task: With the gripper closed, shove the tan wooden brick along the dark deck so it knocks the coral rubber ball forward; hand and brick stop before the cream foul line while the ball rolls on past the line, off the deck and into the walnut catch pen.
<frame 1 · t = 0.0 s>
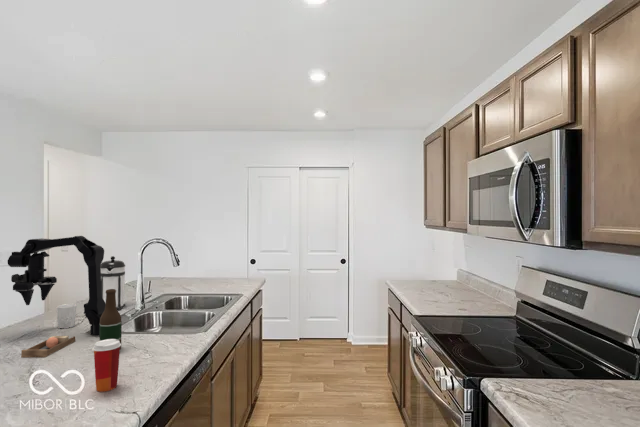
hand: (35, 302, 164), 15 cm above the counter, tool pointing down, fingers open, 9 cm apart
white cup: (66, 327, 178), on the counter
tan wooden brick: (58, 344, 151), point 1 cm above the counter, touching lane
paper cup: (106, 388, 115), on the counter
coffee press: (112, 308, 213), on the counter
ball: (52, 342, 147), point 3 cm above the counter, touching lane
beer bottle: (110, 351, 147), on the counter
lane: (51, 350, 146), on the counter
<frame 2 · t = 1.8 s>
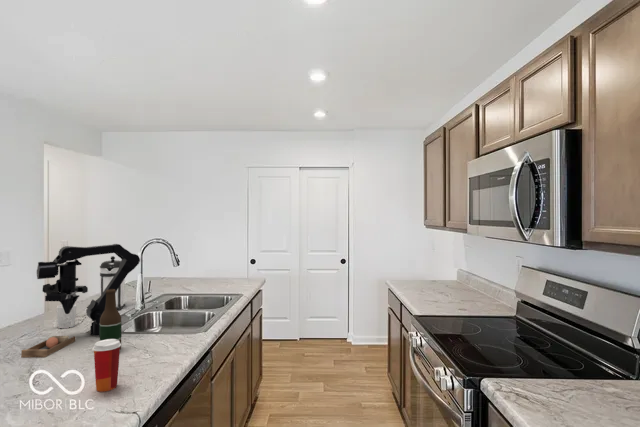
hand: (67, 313, 156), 12 cm above the counter, tool pointing down, fingers closed
nothing on the counter moved.
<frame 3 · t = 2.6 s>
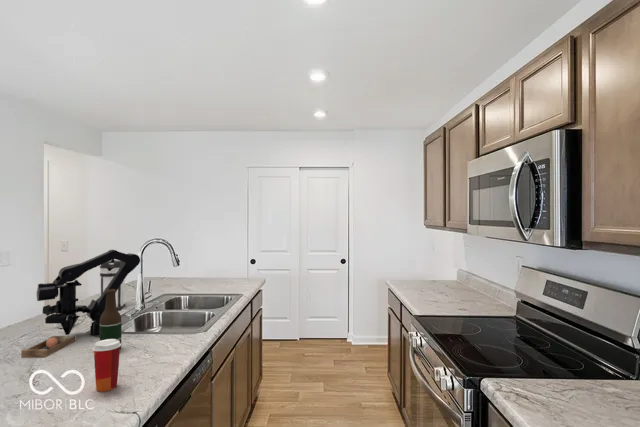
hand: (67, 334, 156), 3 cm above the counter, tool pointing down, fingers closed
nothing on the counter moved.
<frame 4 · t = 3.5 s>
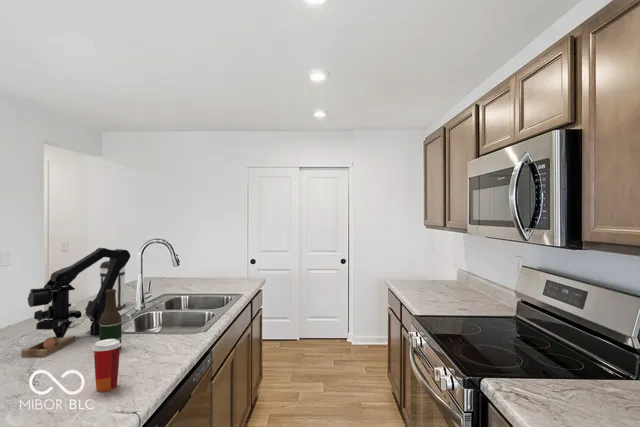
hand: (59, 340, 151), 2 cm above the counter, tool pointing down, fingers closed
tan wooden brick: (56, 345, 149), point 1 cm above the counter, touching gripper
ball: (49, 343, 145), point 3 cm above the counter, tilted 41°, touching lane
everything else where it was.
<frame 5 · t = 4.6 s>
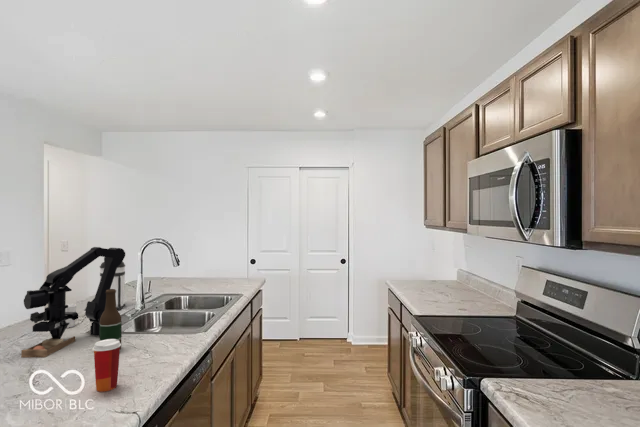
hand: (56, 342, 149), 2 cm above the counter, tool pointing down, fingers closed
tan wooden brick: (52, 347, 147), point 1 cm above the counter, touching gripper, lane
ball: (38, 351, 140), point 2 cm above the counter, tilted 162°
everything else where it was.
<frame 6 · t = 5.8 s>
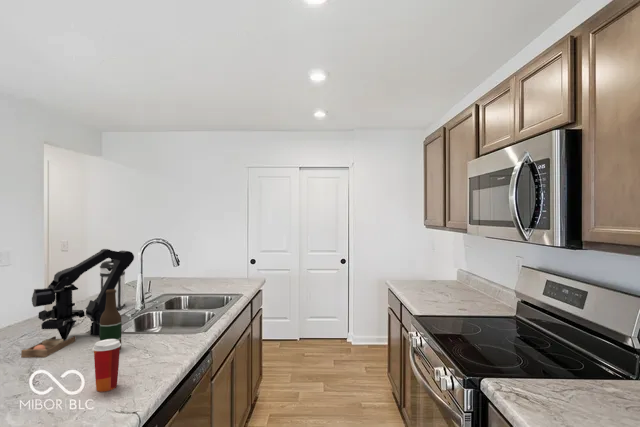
hand: (64, 339, 154), 2 cm above the counter, tool pointing down, fingers closed
tan wooden brick: (52, 347, 147), point 1 cm above the counter, touching lane
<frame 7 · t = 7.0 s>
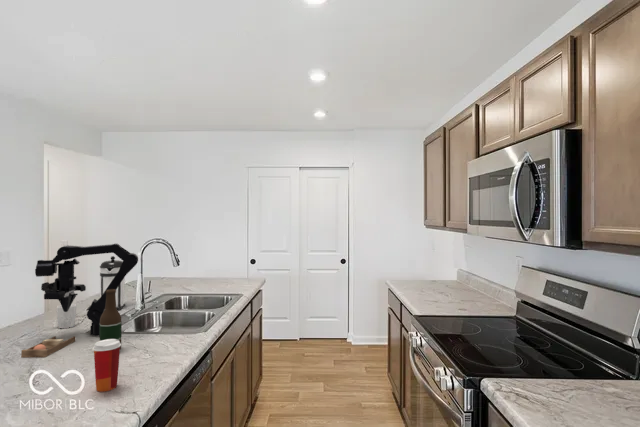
hand: (65, 311, 159), 12 cm above the counter, tool pointing down, fingers closed
ball: (39, 349, 142), point 2 cm above the counter, tilted 155°
everything else where it was.
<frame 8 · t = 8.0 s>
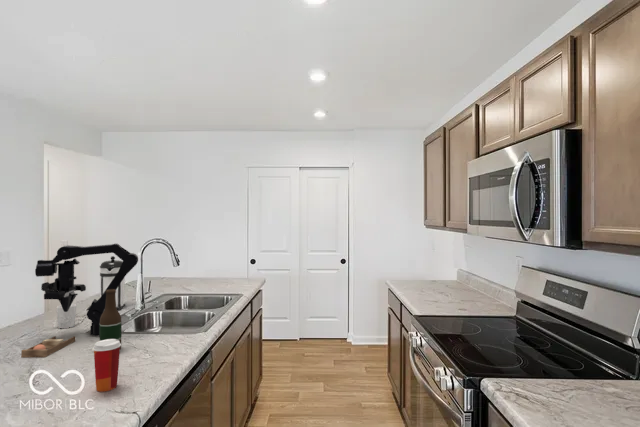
hand: (65, 311, 159), 12 cm above the counter, tool pointing down, fingers closed
nothing on the counter moved.
at the end: ball inside the target area (1.7 cm from its centre), point 2.0 cm above the counter; ball moved 5.7 cm from its start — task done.
